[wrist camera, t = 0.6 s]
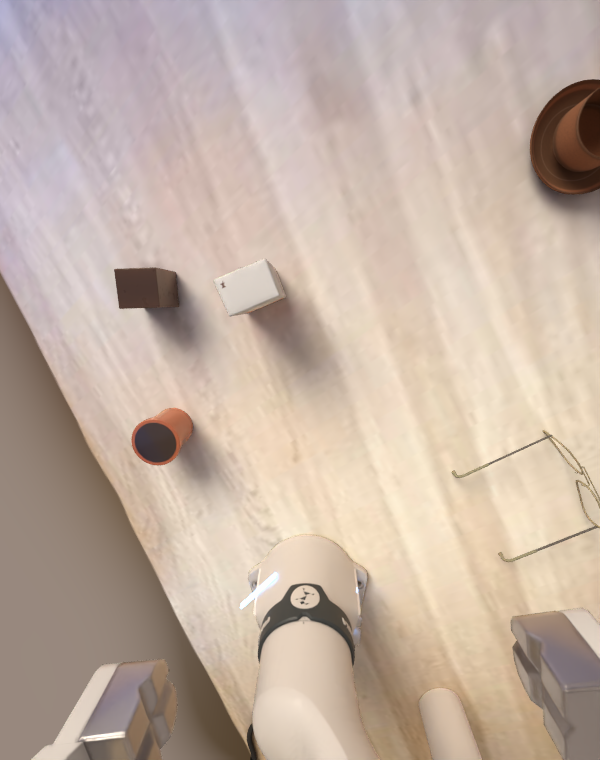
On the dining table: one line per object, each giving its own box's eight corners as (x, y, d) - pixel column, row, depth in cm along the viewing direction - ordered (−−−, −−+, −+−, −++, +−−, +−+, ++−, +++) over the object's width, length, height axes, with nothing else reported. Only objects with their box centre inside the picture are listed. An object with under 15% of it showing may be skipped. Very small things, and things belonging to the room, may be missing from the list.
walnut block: (179, 306, 50) (159, 307, 44) (143, 307, 50) (119, 308, 44) (175, 272, 49) (155, 267, 43) (139, 273, 49) (113, 268, 43)
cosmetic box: (247, 314, 50) (227, 318, 38) (235, 284, 49) (210, 279, 37) (288, 297, 49) (280, 296, 38) (276, 267, 49) (264, 256, 37)
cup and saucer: (519, 101, 44) (552, 69, 38) (624, 78, 43) (675, 41, 37) (525, 207, 46) (557, 192, 40) (624, 187, 45) (672, 169, 39)
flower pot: (197, 446, 54) (182, 465, 48) (155, 446, 55) (134, 466, 48) (193, 404, 53) (177, 418, 46) (150, 405, 53) (128, 419, 47)
